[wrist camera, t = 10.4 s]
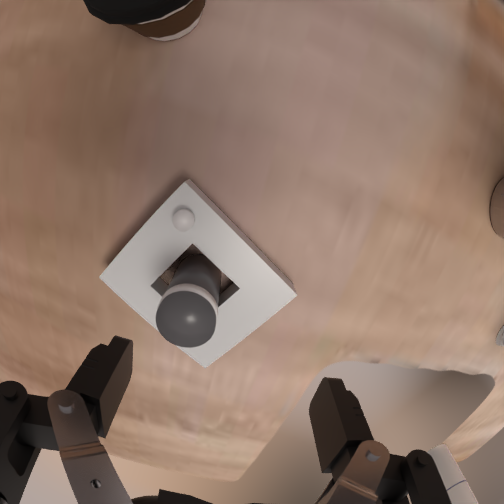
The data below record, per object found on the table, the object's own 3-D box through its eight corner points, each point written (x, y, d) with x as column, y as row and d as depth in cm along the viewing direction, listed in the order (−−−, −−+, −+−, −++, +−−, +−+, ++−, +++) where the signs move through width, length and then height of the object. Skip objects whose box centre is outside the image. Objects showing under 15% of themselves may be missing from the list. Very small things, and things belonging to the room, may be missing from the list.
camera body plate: (292, 283, 34) (299, 299, 31) (207, 353, 37) (204, 373, 33) (189, 178, 30) (182, 182, 27) (109, 267, 33) (95, 280, 29)
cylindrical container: (436, 443, 49) (478, 521, 25) (451, 444, 50) (490, 515, 27) (415, 461, 51) (450, 539, 27) (431, 462, 52) (465, 532, 28)
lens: (232, 276, 34) (230, 324, 24) (200, 305, 35) (188, 358, 25) (197, 244, 33) (182, 281, 23) (166, 275, 34) (142, 320, 24)
